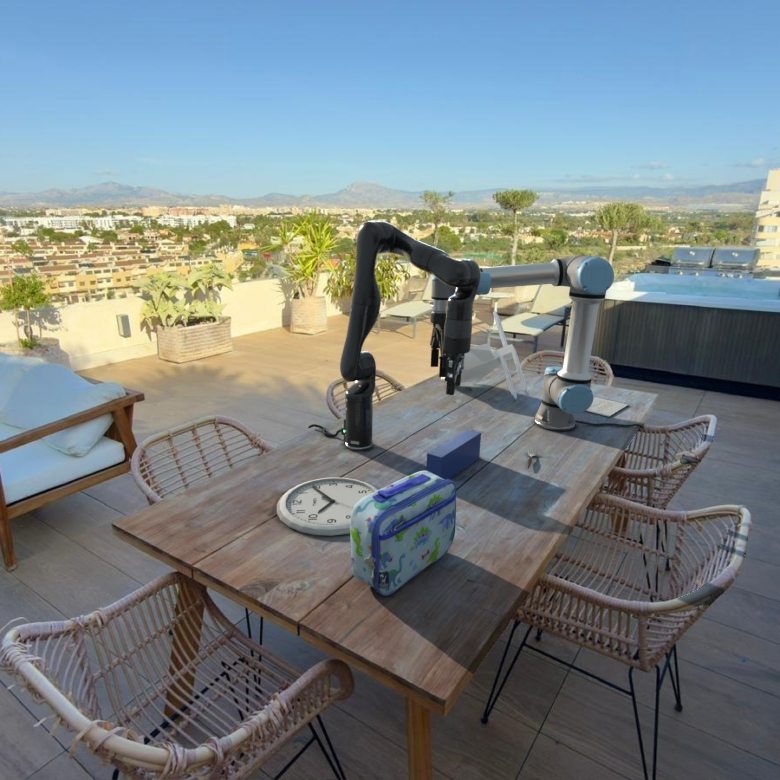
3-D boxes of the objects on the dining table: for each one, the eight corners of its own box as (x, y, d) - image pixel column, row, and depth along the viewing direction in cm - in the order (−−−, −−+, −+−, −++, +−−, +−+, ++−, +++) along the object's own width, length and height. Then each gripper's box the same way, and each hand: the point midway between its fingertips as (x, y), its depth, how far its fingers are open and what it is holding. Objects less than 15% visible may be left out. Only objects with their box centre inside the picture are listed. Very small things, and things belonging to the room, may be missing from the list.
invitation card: (608, 416, 214) (573, 407, 224) (608, 416, 214) (573, 408, 224) (628, 404, 229) (594, 396, 238) (628, 405, 229) (594, 397, 238)
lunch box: (378, 608, 104) (379, 516, 98) (343, 583, 112) (342, 495, 105) (459, 554, 122) (465, 473, 116) (425, 535, 129) (428, 458, 123)
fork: (523, 469, 166) (524, 463, 165) (529, 450, 180) (529, 445, 179) (532, 470, 165) (532, 464, 164) (536, 451, 179) (537, 446, 179)
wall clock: (392, 527, 129) (268, 531, 127) (391, 533, 130) (269, 537, 127) (383, 473, 158) (282, 475, 155) (383, 478, 158) (282, 480, 156)
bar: (466, 453, 177) (467, 429, 174) (479, 457, 174) (481, 432, 171) (425, 480, 158) (427, 453, 155) (440, 485, 155) (441, 457, 152)
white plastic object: (461, 429, 252) (437, 405, 227) (444, 352, 274) (420, 323, 250) (535, 404, 240) (518, 377, 215) (510, 326, 262) (492, 293, 237)
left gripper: (449, 328, 151) (446, 381, 156) (438, 338, 139) (434, 395, 144) (475, 330, 149) (470, 384, 154) (466, 341, 136) (461, 399, 141)
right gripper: (423, 306, 189) (421, 362, 196) (439, 317, 166) (436, 381, 172) (443, 306, 191) (440, 362, 197) (462, 317, 167) (458, 381, 173)
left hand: (453, 390), depth 149 cm, fingers open, 8 cm apart
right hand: (438, 371), depth 185 cm, fingers open, 13 cm apart
